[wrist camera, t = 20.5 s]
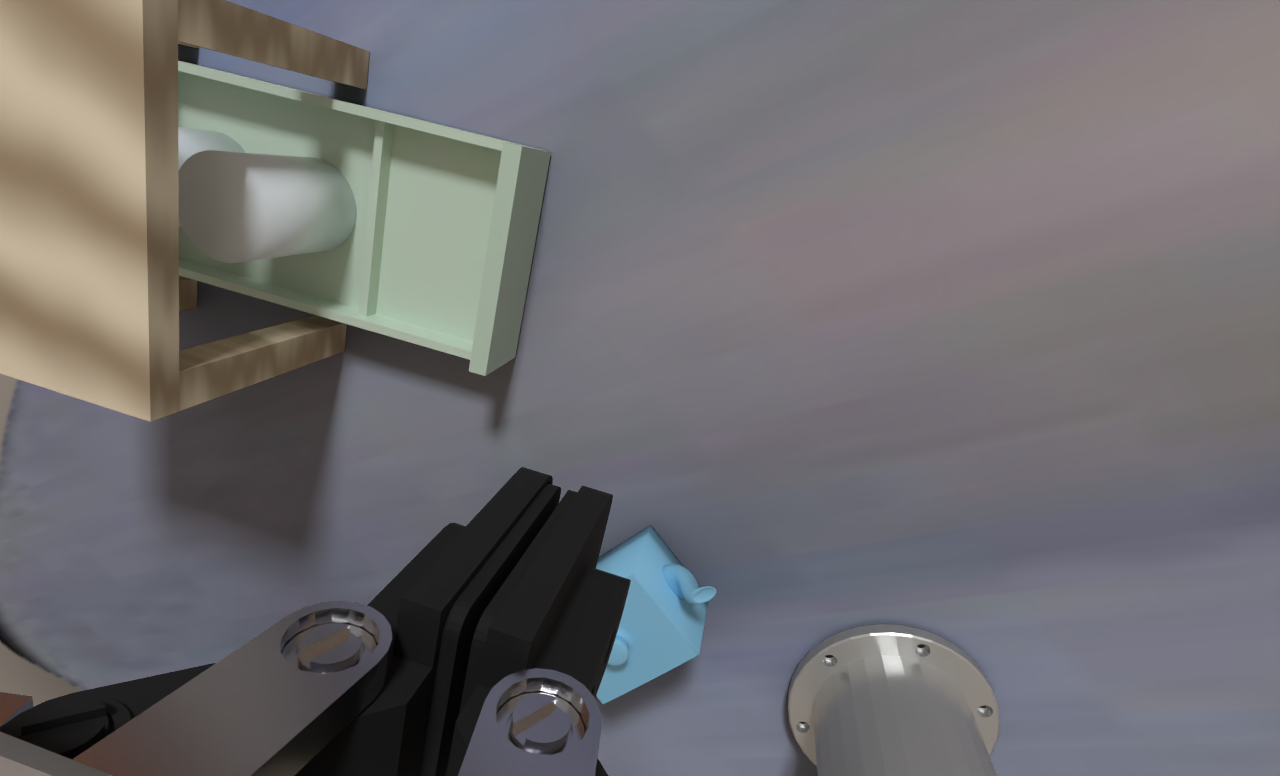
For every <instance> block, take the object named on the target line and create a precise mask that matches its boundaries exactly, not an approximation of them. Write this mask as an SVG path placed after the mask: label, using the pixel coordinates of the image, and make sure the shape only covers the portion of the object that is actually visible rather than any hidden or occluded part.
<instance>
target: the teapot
mask: <svg viewBox="0 0 1280 776" xmlns="http://www.w3.org/2000/svg"><path fill="white" fill-rule="evenodd" d="M596 569H599V570H602V571H605V572H608V573H611V574H614V575H617V576H620V577H624V578H627V579H630V580H631V582H630V587H629V591H628V595H627V599H626V603H625V606H624V610H623V614H622V617H621V621H620V625H619V628H618V632H617V635H616V638H615V642H614V645H613V648H612V651H611V654H610V658H609V661H608V664H607V667H606V669H605V672H604V675H603V678H602V681H601V684H600V686H599V689H598V692H597V695H596V696H597V698H598V699H599V700H600V701H601V703H602V704H605V703H607V702H609V701H611V700H613V699H615V698H617V697H619V696H621V695H623V694H625V693H627V692H629V691H631V690H633V689H635V688H637V687H639V686H641V685H643V684H645V683H647V682H649V681H650V680H652V679H654V678H656V677H658V676H660V675H662V674H664V673H666V672H668V671H670V670H671V669H673V668H675V667H677V666H679V665H681V664H683V663H685V662H687V661H688V660H690V659H692V658H694V657H696V656H697V655H699V654H700V648H701V641H702V635H703V629H704V623H705V617H706V611H707V604H708V601H709V600H711V599H712V598H713V597H714V596H715V595H716V589H715V588H714V587H700V586H699V585H698V583H697V581H696V579H695V578H694V576H693V575H692V574H691V572H690V571H689V570H688V569H686V568H685V567H684V566H683V565H682V564H681V562H680V561H679V560H678V559H677V557H676V556H675V555H674V554H673V552H672V551H671V550H670V548H669V547H668V546H667V545H666V543H665V542H664V541H663V540H662V538H661V537H660V536H659V534H658V533H657V532H656V531H655V529H654V528H653V527H652V526H651V525H650V526H649V527H647V528H645V529H644V530H642V531H640V532H639V533H637V534H636V535H634V536H632V537H631V538H629V539H627V540H626V541H624V542H622V543H621V544H619V545H618V546H616V547H614V548H613V549H611V550H609V551H608V552H606V553H605V554H603V555H601V556H600V557H598V561H597V565H596Z"/></svg>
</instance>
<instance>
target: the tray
mask: <svg viewBox="0 0 1280 776" xmlns="http://www.w3.org/2000/svg"><path fill="white" fill-rule="evenodd" d="M178 127H182V128H191V129H199V130H208V131H216V132H220V133H223V134H225V135H227V136H229V137H231V138H232V139H234V140H235V141H236V142H237V143H238V144H239V145H240V146H241V147H242V148H243V149H244V150H245V152H246V153H258V154H272V155H286V156H299V157H312V158H318V159H322V160H324V161H326V162H328V163H330V164H331V165H333V166H334V167H335V168H337V169H338V170H339V171H340V172H341V173H342V175H343V176H344V177H345V178H346V180H347V182H348V183H349V185H350V187H351V189H352V192H353V194H354V198H355V203H356V221H355V225H354V228H353V231H352V233H351V235H350V236H349V238H348V239H347V240H346V241H345V242H344V243H343V244H342V245H341V246H339V247H337V248H335V249H333V250H329V251H322V252H314V253H307V254H299V255H291V256H284V257H276V258H268V259H261V260H253V261H245V262H238V263H226V262H221V261H218V260H215V259H213V258H211V257H209V256H207V255H206V254H204V253H203V252H202V251H200V250H199V249H198V248H197V247H196V246H195V245H194V244H193V243H192V242H191V240H190V239H189V238H188V236H187V235H186V234H185V232H184V230H183V228H182V226H179V276H183V277H186V278H190V279H193V280H197V281H200V282H204V283H207V284H210V285H214V286H217V287H221V288H224V289H228V290H231V291H235V292H238V293H242V294H245V295H248V296H252V297H255V298H259V299H262V300H266V301H269V302H273V303H276V304H279V305H283V306H286V307H290V308H293V309H297V310H300V311H304V312H307V313H310V314H314V315H317V316H321V317H324V318H328V319H331V320H335V321H338V322H341V323H345V324H348V325H352V326H355V327H359V328H362V329H366V330H369V331H372V332H376V333H379V334H383V335H386V336H390V337H393V338H397V339H400V340H403V341H407V342H410V343H414V344H417V345H421V346H424V347H428V348H431V349H434V350H438V351H441V352H445V353H448V354H452V355H455V356H459V357H462V358H466V359H469V360H470V365H469V372H473V373H476V374H479V375H483V376H486V375H488V374H490V373H491V372H493V371H494V370H496V369H498V368H499V367H501V366H502V365H504V364H506V363H507V362H509V361H510V360H512V359H514V358H515V356H516V350H517V345H518V339H519V333H520V327H521V322H522V316H523V310H524V304H525V299H526V293H527V287H528V281H529V276H530V270H531V264H532V258H533V253H534V247H535V241H536V235H537V230H538V224H539V218H540V212H541V207H542V201H543V195H544V189H545V184H546V178H547V172H548V166H549V161H550V155H551V152H549V151H545V150H541V149H537V148H533V147H529V146H525V145H521V144H516V143H512V142H508V141H504V140H500V139H496V138H492V137H488V136H484V135H480V134H476V133H472V132H468V131H464V130H460V129H456V128H451V127H447V126H443V125H439V124H435V123H431V122H427V121H423V120H419V119H415V118H411V117H407V116H403V115H399V114H395V113H390V112H386V111H382V110H378V109H374V108H370V107H366V106H362V105H358V104H354V103H350V102H346V101H342V100H338V99H334V98H330V97H325V96H321V95H317V94H313V93H309V92H305V91H301V90H297V89H293V88H289V87H285V86H281V85H277V84H273V83H269V82H265V81H260V80H256V79H252V78H248V77H244V76H240V75H236V74H232V73H228V72H224V71H220V70H216V69H212V68H208V67H204V66H199V65H195V64H191V63H187V62H183V61H179V60H178Z"/></svg>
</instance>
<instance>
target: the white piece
mask: <svg viewBox="0 0 1280 776" xmlns="http://www.w3.org/2000/svg"><path fill="white" fill-rule="evenodd" d="M178 179H179V222H180V224H181V226H182V228H183V230H184V232H185V234H186V235H187V236H188V238H189V239H190V240H191V242H192V243H193V244H194V245H195V246H196V247H197V248H198V249H199V250H200V251H202V252H203V253H204V254H206V255H207V256H209V257H211V258H213V259H215V260H218V261H221V262H226V263H238V262H245V261H253V260H261V259H268V258H276V257H284V256H291V255H299V254H307V253H314V252H322V251H329V250H333V249H335V248H337V247H339V246H341V245H342V244H343V243H344V242H345V241H346V240H347V239H348V238H349V236H350V235H351V233H352V231H353V228H354V225H355V221H356V203H355V198H354V194H353V192H352V189H351V187H350V185H349V183H348V182H347V180H346V178H345V177H344V176H343V175H342V173H341V172H340V171H339V170H338V169H337V168H335V167H334V166H333V165H331V164H330V163H328V162H326V161H324V160H322V159H318V158H312V157H299V156H286V155H272V154H258V153H245V152H231V151H217V150H205V151H201V152H198V153H196V154H194V155H192V156H191V157H189V158H188V159H187V160H186V161H185V162H184V163H183V165H182V166H181V168H180V170H179V171H178Z"/></svg>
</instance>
